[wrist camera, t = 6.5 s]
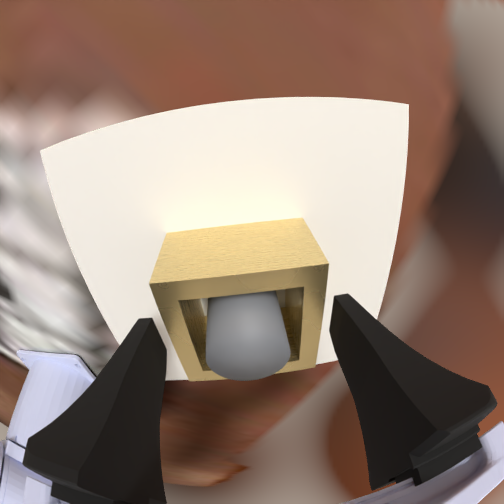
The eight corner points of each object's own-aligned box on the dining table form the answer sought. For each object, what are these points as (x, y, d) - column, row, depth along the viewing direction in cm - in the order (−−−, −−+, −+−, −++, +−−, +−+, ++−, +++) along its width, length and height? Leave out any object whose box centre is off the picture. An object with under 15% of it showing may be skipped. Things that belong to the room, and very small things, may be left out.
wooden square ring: (299, 315, 15) (315, 367, 12) (193, 327, 14) (189, 381, 11) (302, 217, 12) (329, 263, 9) (166, 232, 11) (149, 283, 8)
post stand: (361, 343, 18) (387, 404, 14) (144, 369, 18) (134, 435, 13) (396, 102, 10) (484, 122, 5) (51, 145, 9) (-29, 186, 5)
